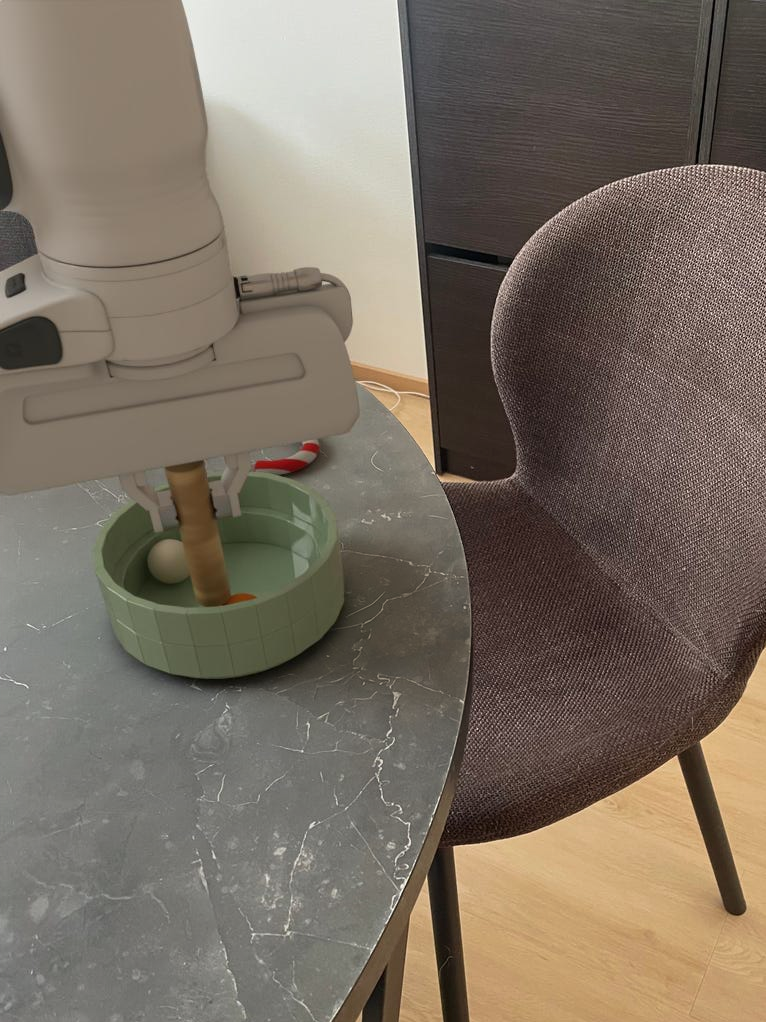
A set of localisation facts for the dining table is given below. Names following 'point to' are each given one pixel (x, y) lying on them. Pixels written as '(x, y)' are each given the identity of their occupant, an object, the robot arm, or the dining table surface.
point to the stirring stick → (199, 532)
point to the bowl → (251, 569)
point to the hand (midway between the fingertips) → (196, 519)
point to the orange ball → (239, 598)
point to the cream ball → (168, 561)
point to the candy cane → (290, 460)
